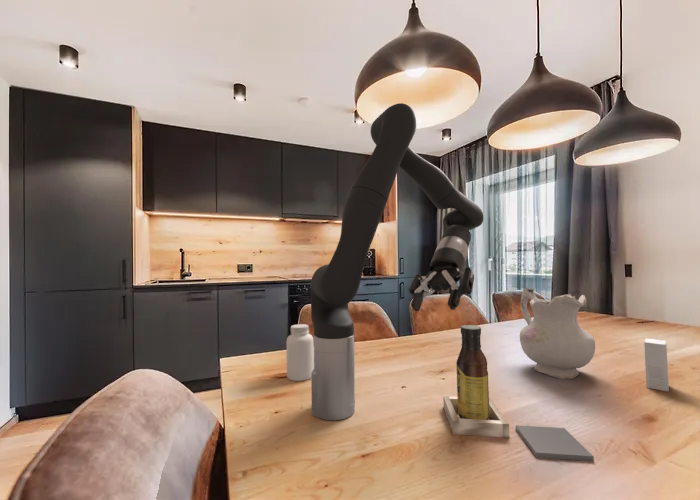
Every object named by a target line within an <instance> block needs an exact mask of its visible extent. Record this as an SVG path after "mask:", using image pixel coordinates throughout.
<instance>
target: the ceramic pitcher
mask: <svg viewBox="0 0 700 500" xmlns="http://www.w3.org/2000/svg"><path fill="white" fill-rule="evenodd" d="M534 291H535V289H534V288H529V287H526V288H525V287H524V289H522V294H521V296H520V309H521V313H522V315H523V319H524V320H525V322H526V324H527V325H526V326H523V328H521V330H520V332H519V342H520V346H521V350H522V351H523V353H524V355H526V356H527V357H528V359H530V360H531V361H532V362H534V363H536V364H535V365H534V366H533V369H534V371H536V372H539V373H541V374H545V375H548V376H550V377H553V378H554V377H555V378H557V379H563V380H573V379H574V378H576V377H577V376H578V375H579V374H580V372H579V371H578V370H577V369H581V368H583V367H586V366H587V365H588V364H590V363H591V361H592V360H593V358H594V355H595V352H596V340H595V339H594V336H592V335H591V333H590V332H588V331H586V330H585V329H584V328H582V326H580V324H579V323H578V319H577V318H578V313H579V311H580V308H581V307H584V306H585V305H586V304H587V299H586V296H585V294H581V296H579V298H578V299H576V296H572V294H570V293H569V294H563V295H557V296H554V297H552V299H551V300H547V299H544V298H543V299H541V298H538V297H537V296H536V295H537V294H535V293H534ZM529 300H530V301H529ZM528 301H529V305H530V307H531V310H532V313H533V319H532V316H531V314H530V312H529V310H528V307H527V306H528Z"/></svg>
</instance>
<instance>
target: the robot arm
mask: <svg viewBox="0 0 700 500" xmlns="http://www.w3.org/2000/svg"><path fill="white" fill-rule="evenodd" d="M417 121H418V120H417V117H416V113H415V112H414V109H413V108H412V107H411V106H410V105H409V104H406V103H403V102H402V103H395V104H393V105H390V106H389V107H387V108H386V109H385V110H384V111H383V112H382V113H381V114H379V115H378V116H377V118H375V120H374V121H373V122H372V123H371V126H370V136H371V138H372V139H371V140H372V141H373V143H374V144H375V147H374V149H373V152H372V153H371V155H370V156H369V158H368V159H367V161H366V163H365V164H364V166H363V167H362V168H361V170H360V171H359V173H358V175H357V176H356V178H355V180H354V182H353V183H352V185H351V188H350V191H349V193H348V196H347V198H346V199H345V200H346V201H345V203H344V208H343V211H342V217H341V227H340V228H341V231H340V237H339V241H338V244H337V246H336V249H335V250H334V252H333V255H332V257H331V258H330V262H329V263H328V264H325V265H321V266H320V267H318V268H317V269H316V270H315V271H314V273H313V275H312V277H311V279H310V314H311V317H310V318H311V322H312V327H313V347H314V369H313V371H312V373H311V378H310V379H311V387H310V388H311V416H315V417H318V418H319V419H322V420H326V421H340V420H344V419H347V418H350V417H352V415H353V414H354V413H355V409H356V408H355V406H356V405H355V404H356V399H355V395H356V393H355V387H356V386H355V385H356V384H355V325H354V324H355V323H354V321H353V319H352V316H351V314H350V311H349V303H351V302H352V301H353V300H354V298H355V296H356V295H357V293H358V291H359V289H360V284H361V280H362V276H363V273H364V268H365V265H366V260H367V256H368V253H369V250H370V248H371V244H372V243H373V240H374V237H375V234H376V232H377V229H378V227H379V225H380V221H381V219H382V216H383V213H384V211H385V209H386V206H387V203H388V200H389V197H390V194H391V192H392V187H393V186H394V183H395V180H396V177H397V174H398V170H399V168H400V169H401V170H403V171H404V172H405V173H406V175H408V176H409V177H410V178H411V179H412V180H413V181H414V182H415V183H416V184H417V185H418V187H420V189H421V190H422V191H423V193H424V194H425V195H426V196H427V197H428V199H429V200H430V201H431V203H432V204H433V205H434V206H435V207H436V208H437V209H438V210H448V209H453V210H451V211H449V212H448V213H446V215H444V217H443V219H442V230H443V232H442V237H441V239H440V241H439V243H438V244H437V247H436V249H435V250H434V254H433V256H432V258H431V262H430V264H429V272H428V273H427V274H426V275H423V276H422V275H421V274H420V273H417V274H416V275H415V277H414V278H413V280H412V282H411V284H410V287H409V288H408V292H409V294H410V296H411V297H412V300H411V303H410V306H411V307H412V309H413V311H414V312H420V310H421V306H422V305H423V301H424V299H425V298H426V297H427V296H431V295H432V294H434V293H435V292H439V291H448V290H449V289H451V291H450V294H449V297H448V301H447V306H448V307H449V309H450V310H452V311H455V310H456V309H457V307H458V306H459V304H460V301H461V298H462V297H463V296H464V295H465V294H466V295H471V294H472V292H473V288H474V282H475V281H474V280H475V274H474V272H473V271H472V269H471V267H470V266H467V267H465V264H466V261H467V258H468V250H469V247H470V243H471V240H472V234H471V230H474V229H476V228H478V227H480V226H481V225H482V224H483V222H484V219H485V218H484V213H483V210H482V209H481V208H480V207H479V205H478V204H477V203H475V202H474V201H473V200H472V199H470V198H469V197H467V196H466V195H465V194H463V193H462V192H461V191H460V190H458V189H457V188H456V187H455V185H454V184H453V182H452V181H451V180H450V178H449V177H448V176H447V175H446V173H444V171H443V170H441V169H440V168H439V167H438V166H436V165H434V164H433V163H431V162H430V161H428V160H426V159H424V158H423V157H421V155H419V154H417V153H416V152H415V151H414V150H413V149H412V148H411V146H410V143H411V142H412V140H413V137H414V135H415V134H416V130H417V125H418V124H417V123H418V122H417ZM461 280H462V282H461V285H459V284H458V282H459V281H461ZM428 285H429V286H430V288H429V287H428ZM423 290H424V291H423ZM422 291H423V292H422Z"/></svg>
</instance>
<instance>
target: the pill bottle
mask: <svg viewBox="0 0 700 500" xmlns="http://www.w3.org/2000/svg"><path fill="white" fill-rule="evenodd" d="M309 327H310V326H309V325H308V324H305V323H299V324H293V325H291V326H290V335H288V336H287V339H286V378H287V379H288V380H290V381H293V382H294V381H295V382H302V381H303V382H304V381H307V380H310V379H311V373H312V371H313V369H314V336H313V335H312V334H311V333H310V331H309V330H310V328H309Z"/></svg>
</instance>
